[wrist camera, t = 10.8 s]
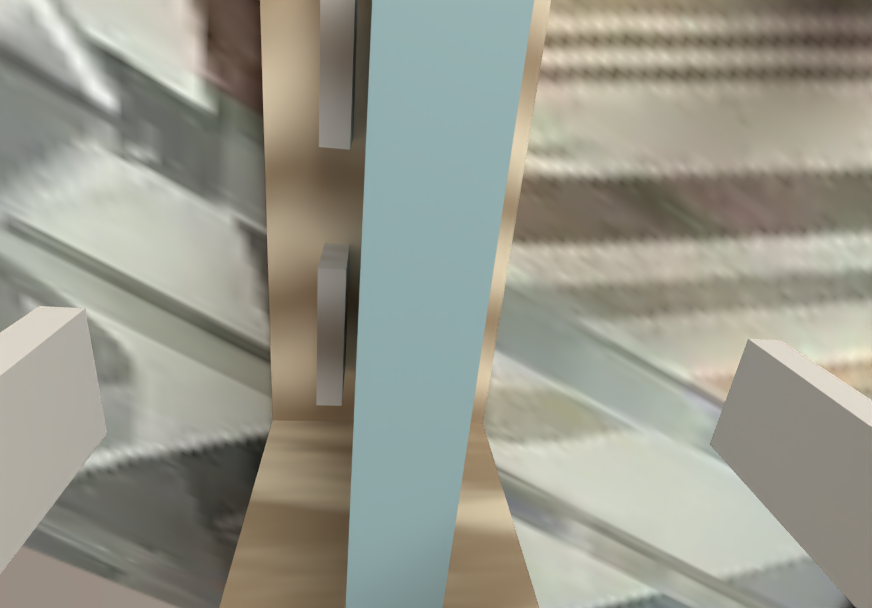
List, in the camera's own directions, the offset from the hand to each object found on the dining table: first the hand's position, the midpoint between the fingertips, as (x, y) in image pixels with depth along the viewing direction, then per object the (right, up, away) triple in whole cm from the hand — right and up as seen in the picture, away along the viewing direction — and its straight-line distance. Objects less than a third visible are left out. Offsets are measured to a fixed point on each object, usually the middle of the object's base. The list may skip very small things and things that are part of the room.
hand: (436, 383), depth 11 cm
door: (-2, +7, +14) cm, 16 cm away
